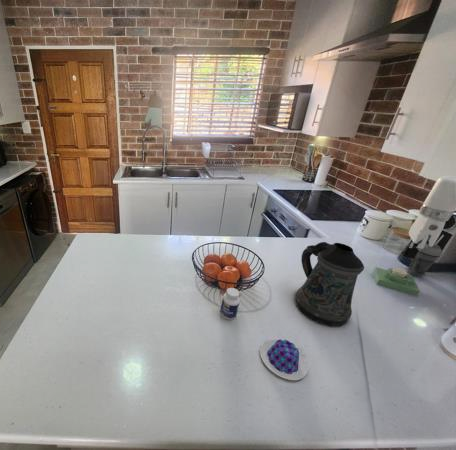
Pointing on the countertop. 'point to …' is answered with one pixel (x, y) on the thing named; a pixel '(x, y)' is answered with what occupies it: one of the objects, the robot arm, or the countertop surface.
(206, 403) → the countertop surface
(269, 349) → the pudding
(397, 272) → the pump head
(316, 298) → the beer stein
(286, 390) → the countertop surface
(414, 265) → the beverage cup
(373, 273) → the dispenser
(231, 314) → the pill bottle
